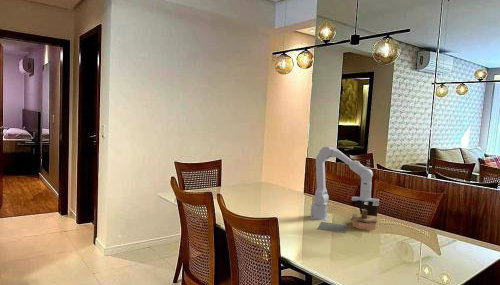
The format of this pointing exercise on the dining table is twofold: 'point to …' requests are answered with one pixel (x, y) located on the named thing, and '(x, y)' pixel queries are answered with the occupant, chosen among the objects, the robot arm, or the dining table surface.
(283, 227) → the dining table surface
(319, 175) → the robot arm
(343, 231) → the mat
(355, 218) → the lid
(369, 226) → the bowl
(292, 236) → the dining table surface
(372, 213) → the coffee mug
